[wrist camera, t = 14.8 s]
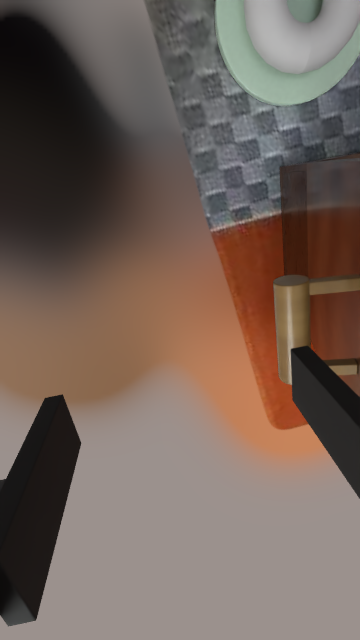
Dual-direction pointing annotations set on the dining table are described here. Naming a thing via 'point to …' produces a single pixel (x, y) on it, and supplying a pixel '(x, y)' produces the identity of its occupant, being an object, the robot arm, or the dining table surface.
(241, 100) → the dining table surface
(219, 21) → the saucer
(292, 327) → the lid
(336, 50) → the donut
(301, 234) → the wooden box
